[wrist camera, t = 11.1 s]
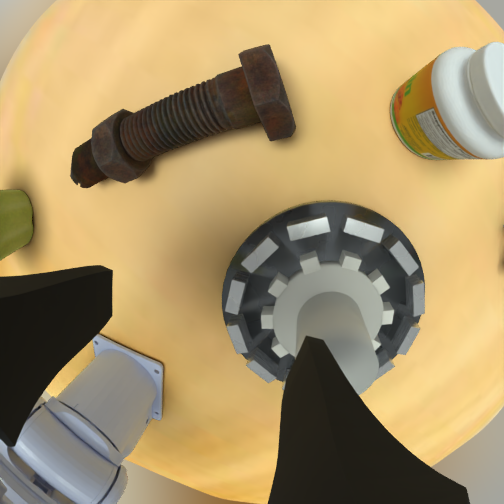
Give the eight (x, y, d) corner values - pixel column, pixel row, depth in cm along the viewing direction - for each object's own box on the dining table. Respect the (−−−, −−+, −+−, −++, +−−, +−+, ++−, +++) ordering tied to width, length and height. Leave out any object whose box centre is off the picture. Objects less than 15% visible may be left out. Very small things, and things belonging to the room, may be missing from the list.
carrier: (370, 390, 19) (374, 411, 17) (211, 353, 21) (201, 372, 18) (446, 237, 15) (464, 247, 13) (251, 174, 16) (243, 174, 14)
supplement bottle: (418, 69, 12) (495, 10, 3) (467, 131, 13) (565, 119, 3) (372, 111, 14) (444, 54, 5) (425, 176, 14) (528, 190, 5)
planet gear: (357, 369, 18) (370, 433, 12) (251, 345, 19) (232, 408, 13) (406, 269, 15) (450, 316, 9) (284, 233, 16) (275, 268, 10)
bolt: (109, 158, 20) (286, 92, 16) (102, 212, 18) (302, 149, 14) (61, 125, 14) (262, 24, 10) (43, 184, 13) (280, 74, 9)
